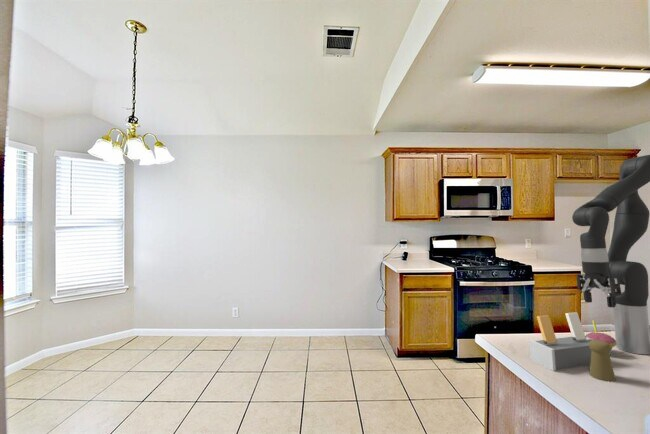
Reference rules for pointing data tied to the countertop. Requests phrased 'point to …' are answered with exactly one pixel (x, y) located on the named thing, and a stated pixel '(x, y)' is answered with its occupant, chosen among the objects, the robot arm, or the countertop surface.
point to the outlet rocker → (546, 329)
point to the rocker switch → (575, 326)
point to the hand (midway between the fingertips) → (599, 304)
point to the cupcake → (601, 337)
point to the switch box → (561, 353)
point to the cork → (601, 361)
